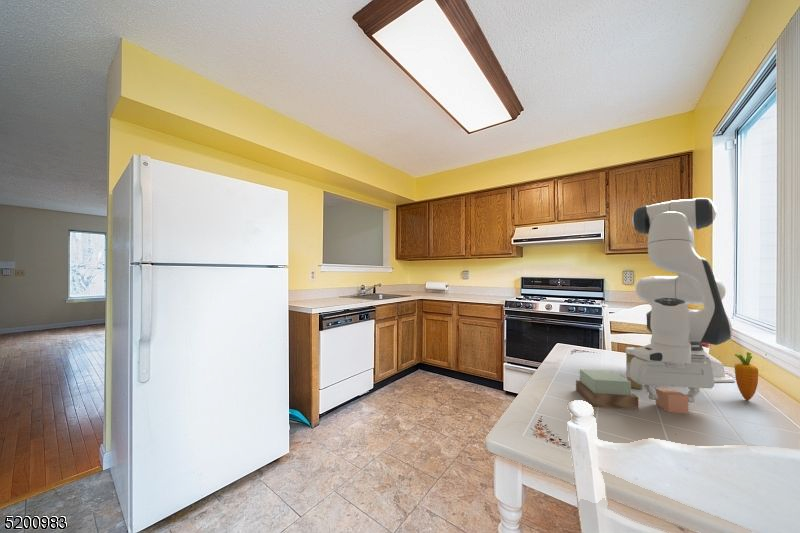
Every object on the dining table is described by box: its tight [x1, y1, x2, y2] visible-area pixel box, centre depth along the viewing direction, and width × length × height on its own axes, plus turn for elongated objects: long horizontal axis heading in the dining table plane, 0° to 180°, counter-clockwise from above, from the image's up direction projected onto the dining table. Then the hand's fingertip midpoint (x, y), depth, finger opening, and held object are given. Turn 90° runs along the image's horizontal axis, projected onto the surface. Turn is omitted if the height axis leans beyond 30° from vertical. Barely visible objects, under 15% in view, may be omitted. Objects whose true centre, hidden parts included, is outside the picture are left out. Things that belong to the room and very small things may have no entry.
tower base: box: [575, 379, 639, 410], centre depth 92 cm, size 12×12×4 cm
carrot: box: [734, 351, 759, 401], centre depth 92 cm, size 5×5×15 cm
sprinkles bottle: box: [625, 346, 644, 390], centre depth 103 cm, size 5×5×13 cm
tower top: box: [579, 368, 632, 395], centre depth 93 cm, size 10×10×4 cm
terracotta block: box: [655, 387, 689, 414], centre depth 86 cm, size 5×5×5 cm
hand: (671, 400), depth 86 cm, fingers open, 8 cm apart
